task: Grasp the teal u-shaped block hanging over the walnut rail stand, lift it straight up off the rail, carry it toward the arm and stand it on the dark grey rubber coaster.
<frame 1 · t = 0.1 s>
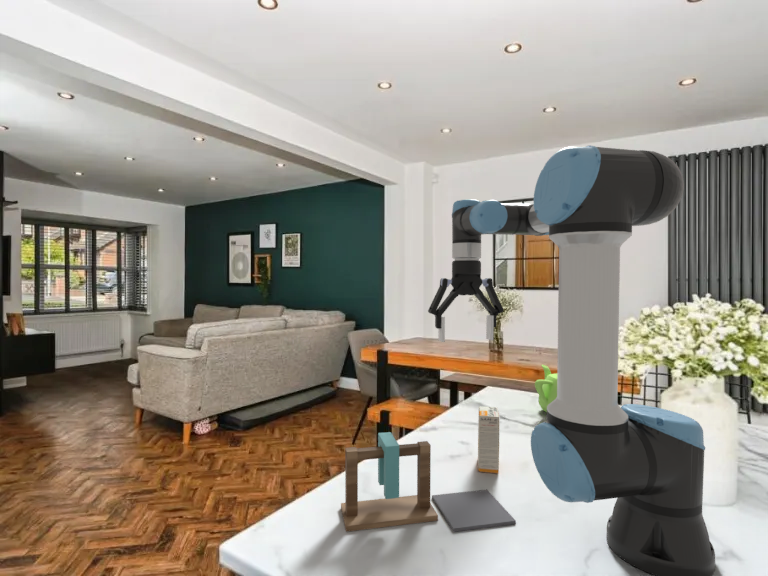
hand: (465, 340, 117), 28 cm above the kitchen island, fingers open, 13 cm apart
stand: (388, 514, 84), on the kitchen island
teal u-shaped block: (388, 489, 84), point 5 cm above the kitchen island, touching stand
coaster: (471, 510, 85), on the kitchen island
supplement box: (488, 466, 105), on the kitchen island
teapot: (564, 412, 147), on the kitchen island
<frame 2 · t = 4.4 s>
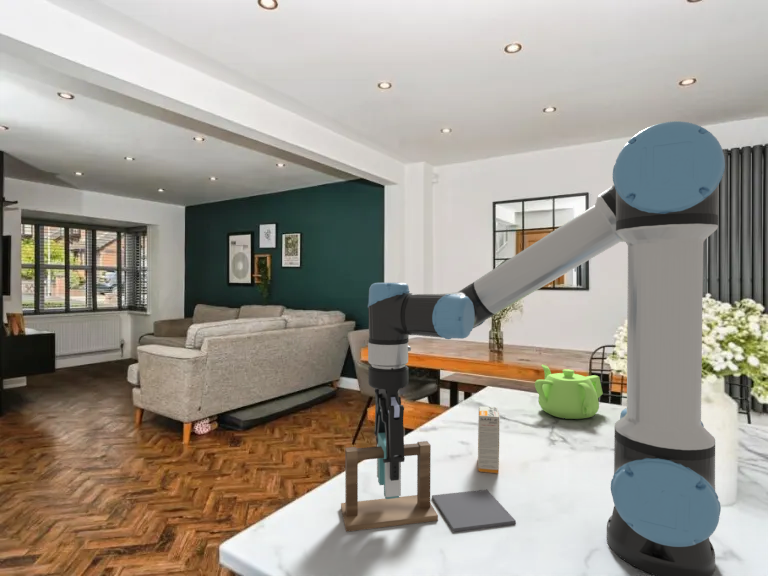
hand: (388, 485, 84), 6 cm above the kitchen island, fingers closed on teal u-shaped block, 7 cm apart
teal u-shaped block: (388, 489, 84), point 5 cm above the kitchen island, touching gripper, stand
everything else where it was.
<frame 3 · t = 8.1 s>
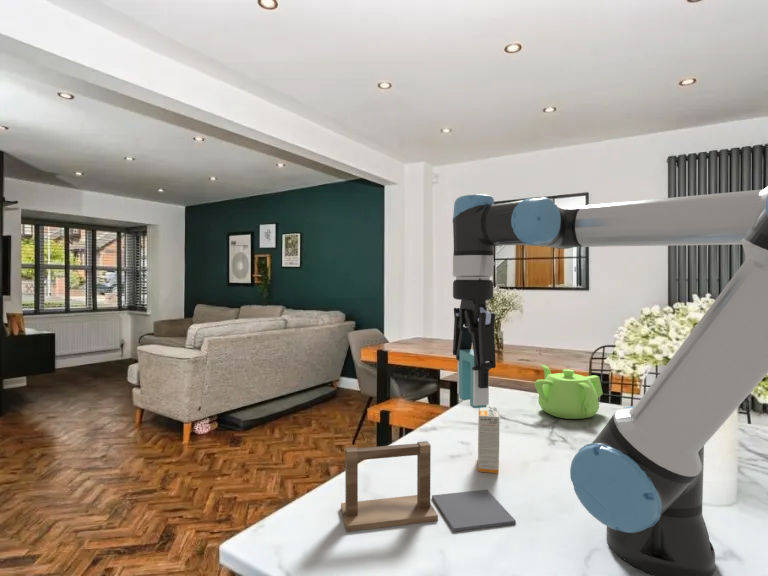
hand: (472, 398, 85), 22 cm above the kitchen island, fingers closed on teal u-shaped block, 7 cm apart
teal u-shaped block: (472, 402, 85), point 21 cm above the kitchen island, touching gripper
everything else where it was.
when the fingers open (3 cm above the kitchen island, at t = 11.9 s): teal u-shaped block drops 2 cm, resting on coaster.
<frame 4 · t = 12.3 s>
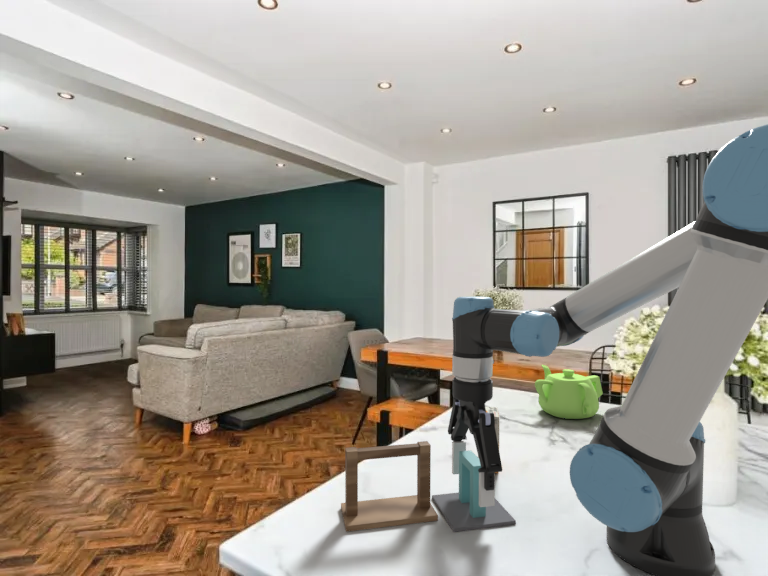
hand: (471, 488, 85), 4 cm above the kitchen island, fingers open, 12 cm apart
teal u-shaped block: (471, 507, 85), point 1 cm above the kitchen island, touching coaster
everything else where it was.
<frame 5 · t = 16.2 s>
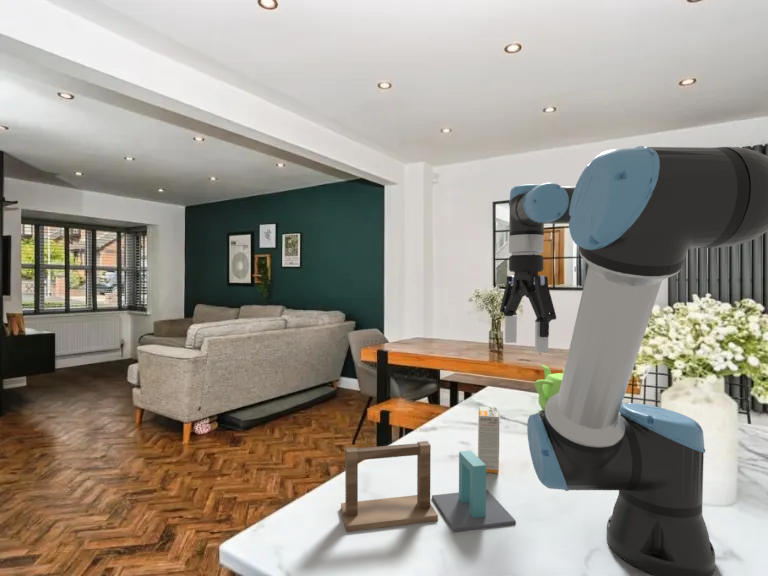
hand: (525, 347, 102), 29 cm above the kitchen island, fingers open, 13 cm apart
nothing on the kitchen island moved.
at the end: teal u-shaped block inside the target area on the coaster (0.0 cm from its centre), point 0.6 cm above the coaster's base; teal u-shaped block tilted 0°; the gripper is holding nothing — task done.
